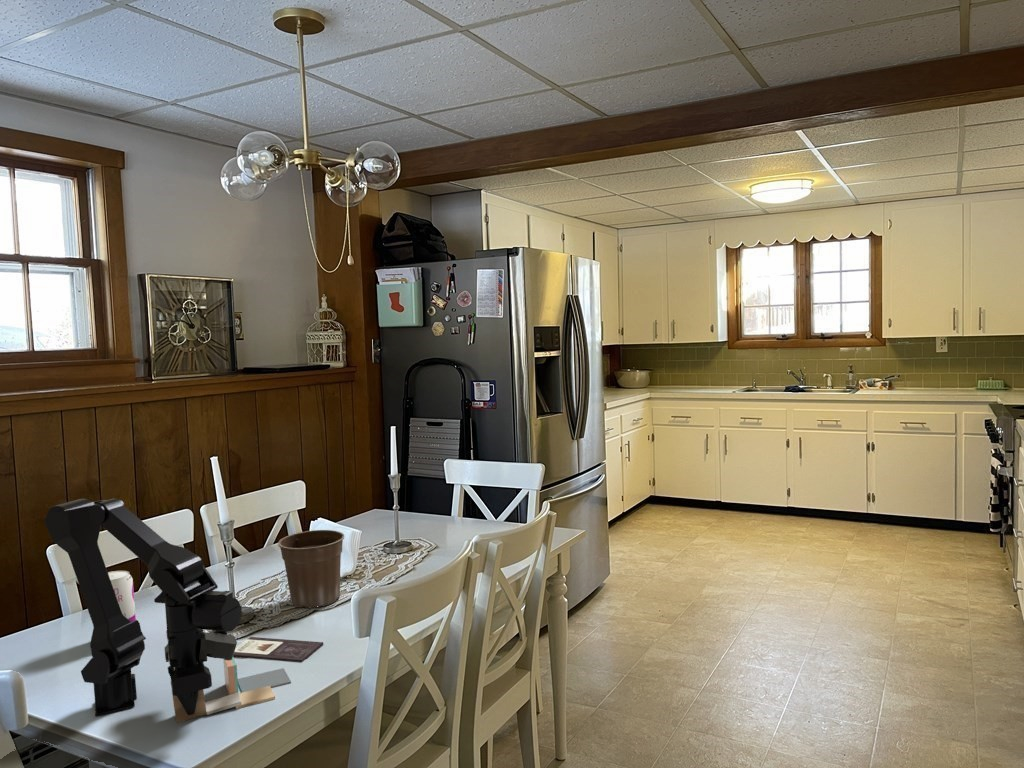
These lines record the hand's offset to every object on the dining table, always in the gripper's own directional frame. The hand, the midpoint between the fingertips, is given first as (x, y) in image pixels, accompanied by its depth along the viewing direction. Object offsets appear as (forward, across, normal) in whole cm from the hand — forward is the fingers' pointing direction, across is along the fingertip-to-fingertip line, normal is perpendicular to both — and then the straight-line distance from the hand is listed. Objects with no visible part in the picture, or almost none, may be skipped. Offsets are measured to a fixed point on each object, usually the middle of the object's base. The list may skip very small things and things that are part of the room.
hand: (190, 710), depth 139 cm
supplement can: (+1, +47, +11) cm, 48 cm away
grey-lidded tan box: (+1, 0, -3) cm, 3 cm away
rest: (+1, 0, -11) cm, 11 cm away
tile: (+1, +6, -8) cm, 10 cm away
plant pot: (+1, +47, -34) cm, 58 cm away
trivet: (+1, +6, -14) cm, 15 cm away
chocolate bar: (+2, +21, -19) cm, 28 cm away
